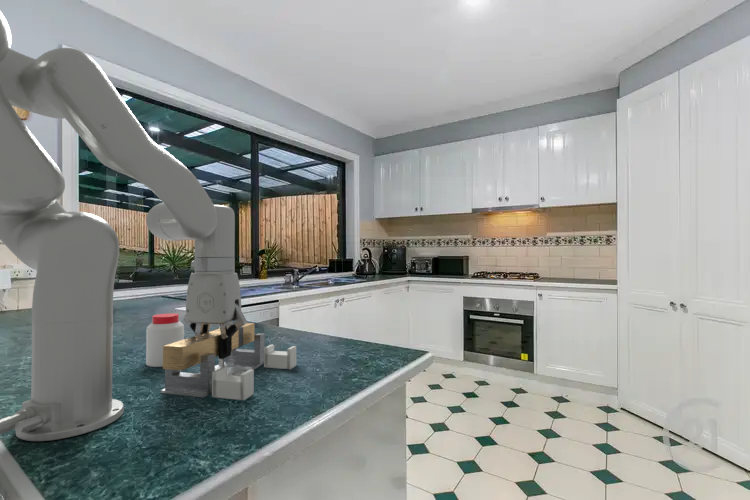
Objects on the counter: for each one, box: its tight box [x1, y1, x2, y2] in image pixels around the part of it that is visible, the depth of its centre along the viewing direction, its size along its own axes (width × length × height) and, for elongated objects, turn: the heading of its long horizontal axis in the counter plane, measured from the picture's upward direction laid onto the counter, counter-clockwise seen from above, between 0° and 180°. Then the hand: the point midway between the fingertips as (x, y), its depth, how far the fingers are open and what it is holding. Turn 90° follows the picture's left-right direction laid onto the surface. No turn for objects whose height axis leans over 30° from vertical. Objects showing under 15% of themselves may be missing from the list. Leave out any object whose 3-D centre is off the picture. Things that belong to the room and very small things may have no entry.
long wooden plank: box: [162, 322, 256, 371], centre depth 76 cm, size 23×4×4 cm, turn 167°
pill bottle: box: [145, 312, 185, 368], centre depth 88 cm, size 8×8×11 cm
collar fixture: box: [160, 326, 266, 398], centre depth 78 cm, size 22×9×9 cm, turn 167°
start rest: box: [211, 344, 297, 401], centre depth 76 cm, size 21×6×4 cm, turn 167°
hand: (214, 355), depth 76 cm, fingers closed on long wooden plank, 4 cm apart
